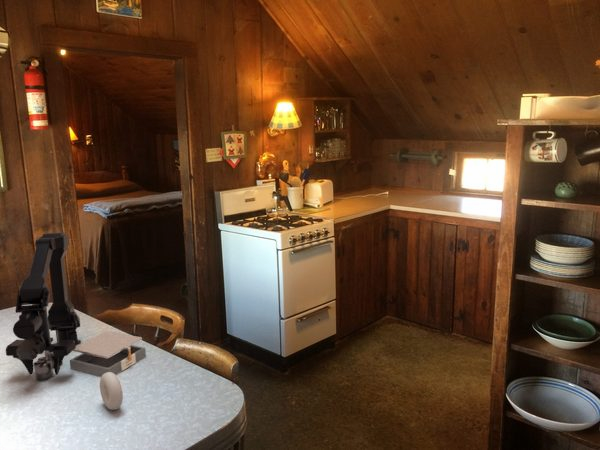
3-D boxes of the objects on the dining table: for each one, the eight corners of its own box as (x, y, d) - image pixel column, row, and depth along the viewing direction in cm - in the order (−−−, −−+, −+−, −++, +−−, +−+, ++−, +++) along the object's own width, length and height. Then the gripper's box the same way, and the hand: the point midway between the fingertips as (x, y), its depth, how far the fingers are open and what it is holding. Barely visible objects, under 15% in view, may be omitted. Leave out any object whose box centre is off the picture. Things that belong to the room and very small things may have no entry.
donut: (126, 413, 137) (123, 377, 135) (113, 418, 135) (110, 382, 133) (112, 398, 144) (108, 365, 142) (99, 402, 142) (95, 369, 140)
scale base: (70, 369, 162) (69, 359, 162) (108, 348, 176) (107, 339, 176) (110, 378, 155) (109, 368, 155) (146, 356, 170) (146, 347, 169)
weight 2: (42, 367, 164) (40, 348, 163) (55, 360, 168) (53, 342, 167) (53, 369, 162) (51, 351, 161) (66, 363, 166) (64, 345, 165)
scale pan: (72, 360, 162) (70, 348, 161) (108, 341, 175) (106, 330, 174) (112, 369, 155) (111, 357, 154) (147, 349, 168) (146, 338, 168)
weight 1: (32, 379, 156) (29, 360, 155) (45, 372, 160) (43, 353, 159) (43, 382, 154) (40, 363, 153) (57, 375, 158) (54, 356, 157)
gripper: (-10, 336, 147) (-3, 387, 150) (54, 336, 145) (60, 387, 149) (13, 321, 158) (20, 369, 161) (73, 321, 156) (79, 369, 159)
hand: (44, 374), depth 157 cm, fingers open, 8 cm apart
